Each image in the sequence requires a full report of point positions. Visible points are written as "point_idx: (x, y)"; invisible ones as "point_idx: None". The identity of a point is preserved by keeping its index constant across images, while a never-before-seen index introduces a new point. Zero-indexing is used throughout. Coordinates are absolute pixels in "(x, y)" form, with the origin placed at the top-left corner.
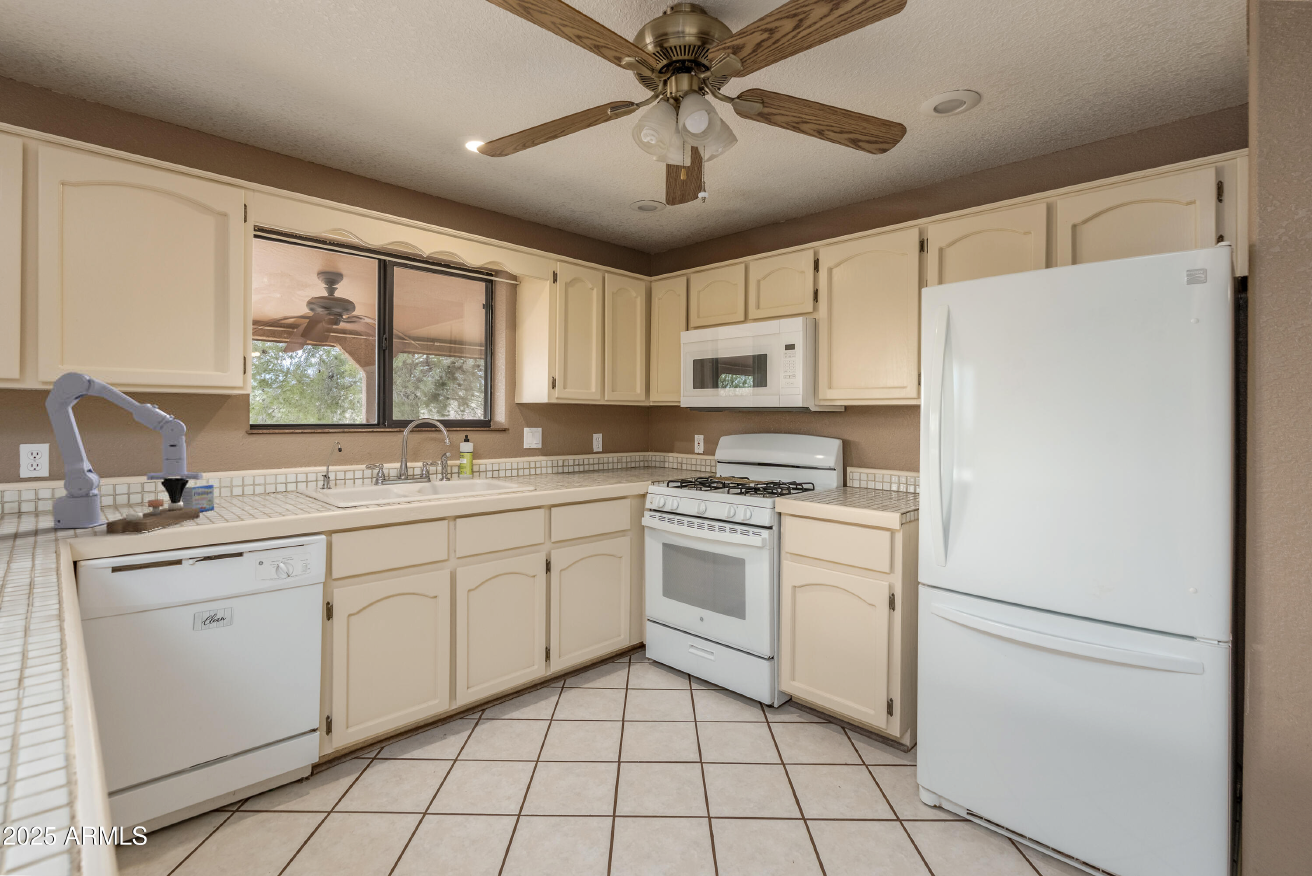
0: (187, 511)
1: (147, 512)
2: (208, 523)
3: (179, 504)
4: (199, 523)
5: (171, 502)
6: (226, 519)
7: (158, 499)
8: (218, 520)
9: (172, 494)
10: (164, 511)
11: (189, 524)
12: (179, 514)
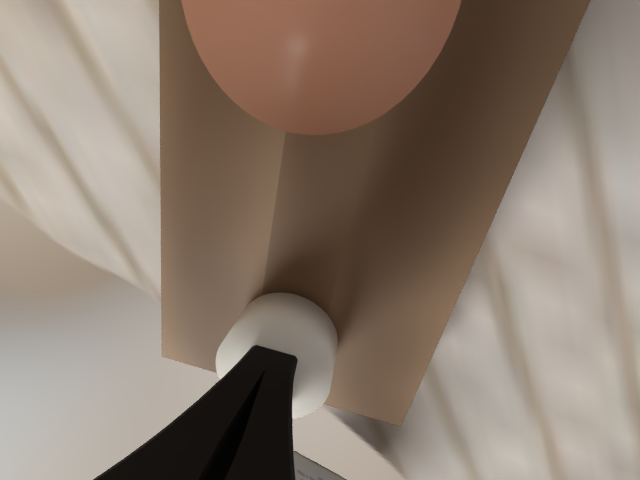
0: (162, 219)
1: (477, 247)
2: (8, 31)
3: (229, 331)
4: (70, 51)
5: (291, 362)
6: (5, 184)
7: (299, 96)
8: (27, 157)
9: (245, 442)
10: (341, 260)
11: (113, 17)
12: (167, 98)
